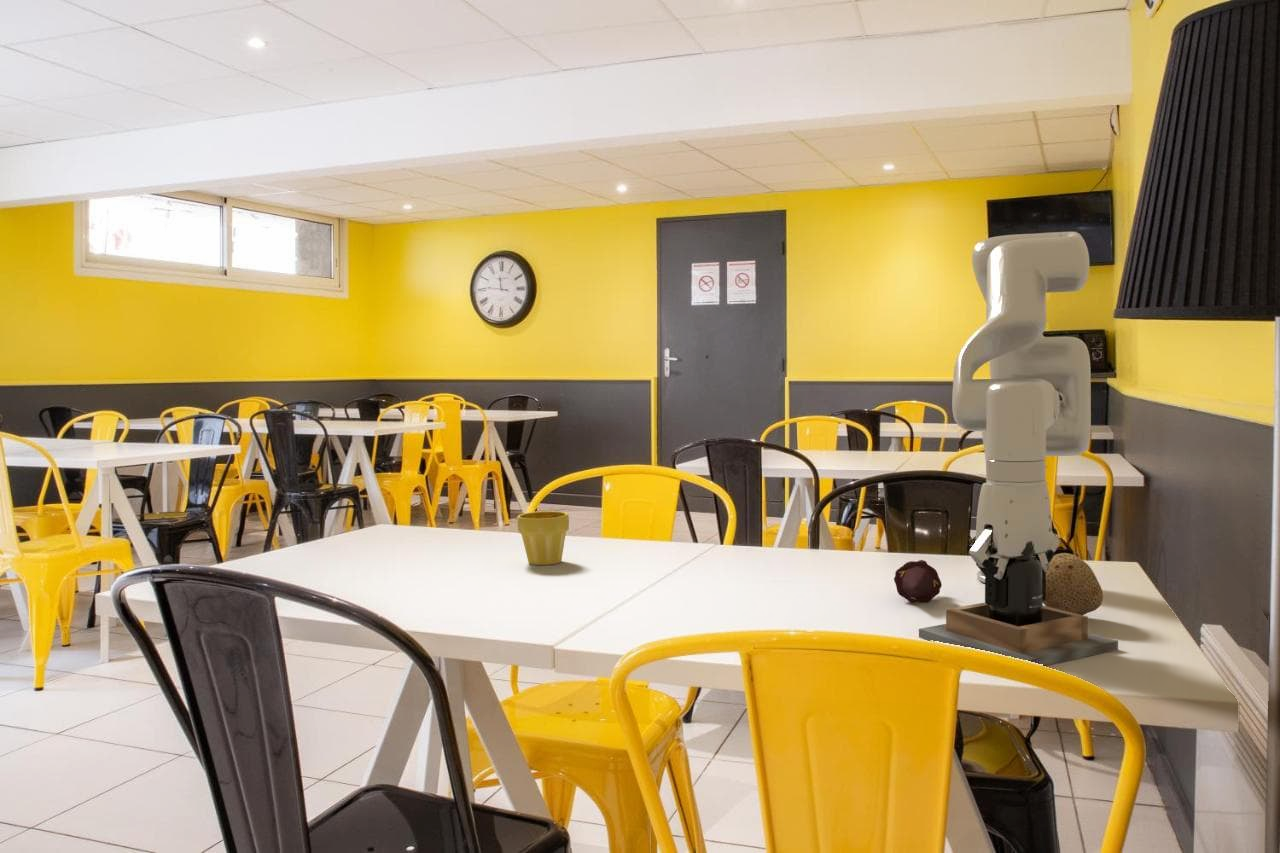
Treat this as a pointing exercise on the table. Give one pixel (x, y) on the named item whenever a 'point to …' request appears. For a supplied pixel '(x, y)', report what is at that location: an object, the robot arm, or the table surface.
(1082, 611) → the natural sponge
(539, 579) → the table surface
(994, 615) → the supplement bottle
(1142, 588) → the table surface
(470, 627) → the table surface
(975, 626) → the collar board
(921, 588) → the icecream
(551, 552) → the plant pot
